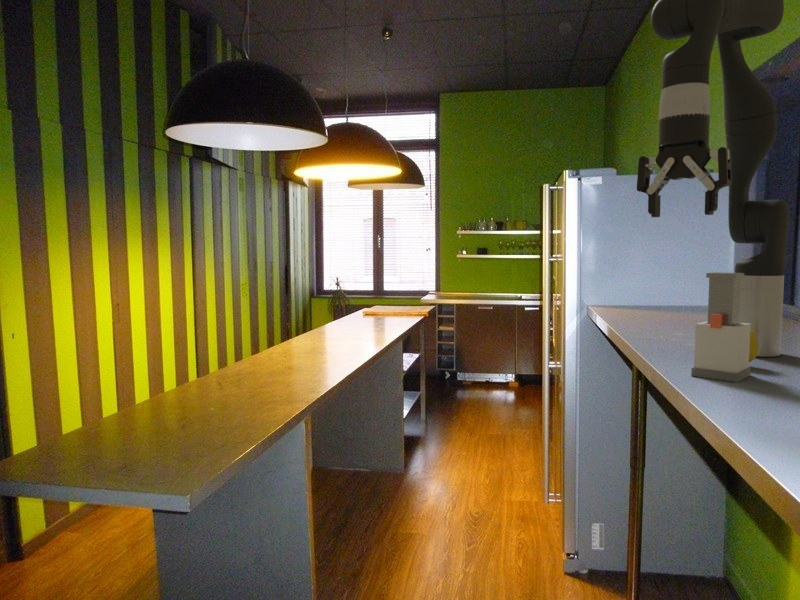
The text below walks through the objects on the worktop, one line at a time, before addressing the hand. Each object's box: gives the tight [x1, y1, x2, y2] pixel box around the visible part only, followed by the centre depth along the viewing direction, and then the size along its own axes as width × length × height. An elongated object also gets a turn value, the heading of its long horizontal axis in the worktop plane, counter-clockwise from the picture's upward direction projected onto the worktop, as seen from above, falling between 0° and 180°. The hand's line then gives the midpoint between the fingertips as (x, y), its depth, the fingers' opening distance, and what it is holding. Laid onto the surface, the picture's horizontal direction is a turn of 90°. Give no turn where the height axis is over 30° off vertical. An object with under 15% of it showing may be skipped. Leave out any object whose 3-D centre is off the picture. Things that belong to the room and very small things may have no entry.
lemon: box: [749, 330, 758, 363], centre depth 117 cm, size 6×6×8 cm
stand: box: [691, 314, 752, 383], centre depth 108 cm, size 8×8×12 cm
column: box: [705, 271, 744, 326], centre depth 108 cm, size 5×5×17 cm
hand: (681, 216), depth 100 cm, fingers open, 8 cm apart
